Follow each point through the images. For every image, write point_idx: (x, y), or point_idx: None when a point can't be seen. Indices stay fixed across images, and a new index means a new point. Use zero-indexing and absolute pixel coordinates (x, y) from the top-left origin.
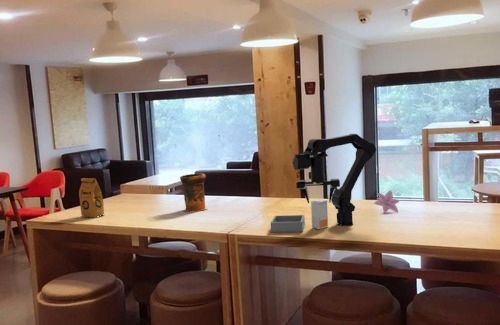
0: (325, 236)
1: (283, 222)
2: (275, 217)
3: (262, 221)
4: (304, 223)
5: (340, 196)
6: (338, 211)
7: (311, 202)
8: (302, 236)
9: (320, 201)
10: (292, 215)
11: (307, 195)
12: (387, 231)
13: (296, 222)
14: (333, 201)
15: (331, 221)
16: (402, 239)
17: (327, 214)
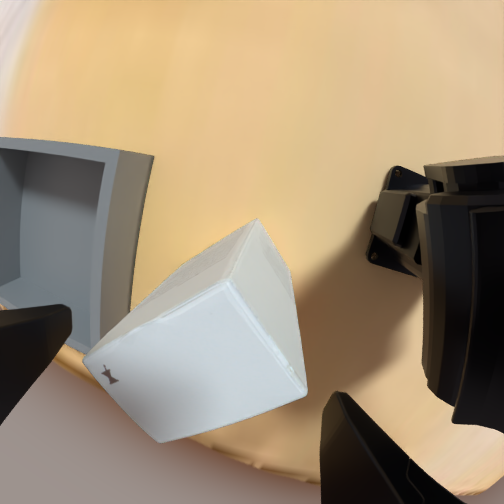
0: (228, 428)
1: None
2: None
3: (15, 61)
4: (142, 182)
5: (486, 419)
6: (415, 262)
7: (91, 363)
8: None
9: (197, 420)
10: (52, 149)
11: (8, 414)
12: None
13: (75, 346)
14: (430, 272)
15: (353, 121)
16: (436, 471)
17: (295, 306)
